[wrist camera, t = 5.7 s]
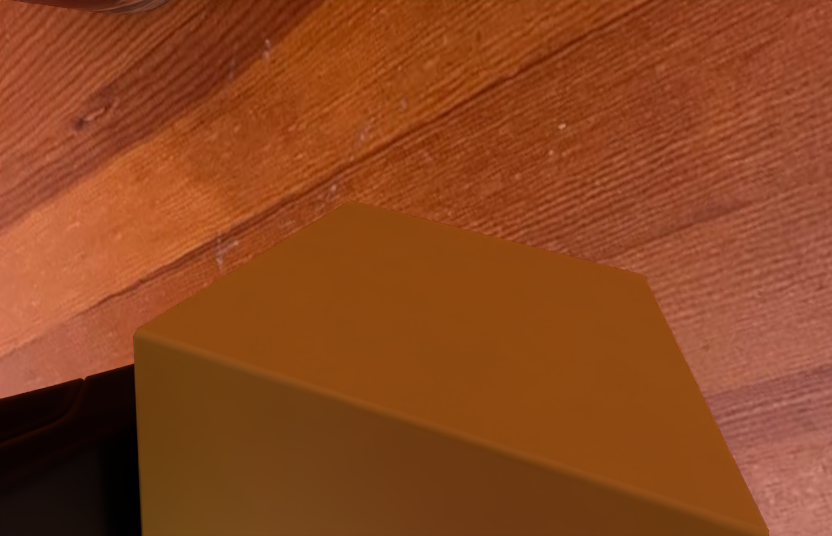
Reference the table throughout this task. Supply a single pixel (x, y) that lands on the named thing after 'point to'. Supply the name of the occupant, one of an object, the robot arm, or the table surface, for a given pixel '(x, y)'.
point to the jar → (103, 5)
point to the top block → (425, 396)
